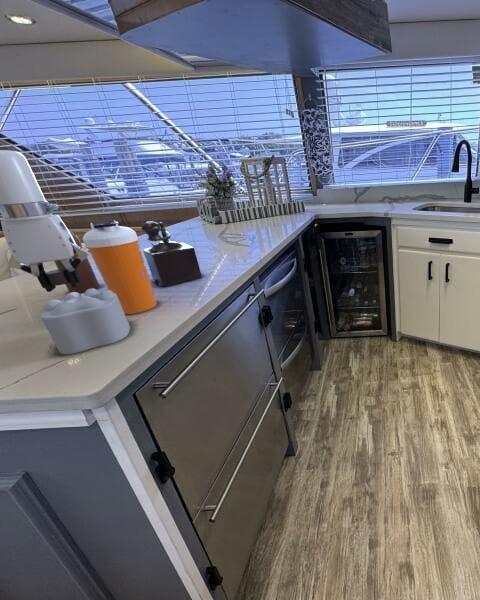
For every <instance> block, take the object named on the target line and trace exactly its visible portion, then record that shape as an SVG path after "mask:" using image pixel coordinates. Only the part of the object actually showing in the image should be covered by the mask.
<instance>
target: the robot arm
mask: <svg viewBox="0 0 480 600" xmlns="http://www.w3.org/2000/svg"><path fill="white" fill-rule="evenodd" d="M58 210H59V207H58V205H57V204H56V203H49V202H48V200H46V198H45V196H44V194H43V192H42V190H41V187H40V185H39V183H38V180H37V179H36V176H35V174H34V172H33V169H32V168H31V166H30V164H29V162H28V160H27V158H26V156H24V154H23V153H21V152H19V151H17V150H10V149H9V150H8V149H6V150H5V149H0V215H1V216H2V218H3V219H2V220H0V225H1V229H2V232H3V236H4V239H5V241H6V244H7V247H8V248H9V251H10V253H11V255H10V257H9V261H8V263H7V266H8V267H9V268H12V269H15V270H21V271H23V272H26V273H28V274H30V275H32V276H33V277H36V278H37V280H38V282H39V284H40V285H41V287H42V289H45V291H46V293H50V292H52V291H54V290H55V289H56V288H57V286H51V285H50V283H49V281H48V279H47V277H46V275H45V273H46V272H47V271H45V267H44V263H49V262H54V261H56V260H60V261H61V262H62V264H63V265H64V266H65V268H66V269H67V271H68V272H66V275H67V277H68V279H69V281H70V283H71V285H72V287H74V288H75V287H78V286H79V285H80V284H81V283H80V282H82V280H81V278H80V276H79V274H78V271H77V268H78V266H79V265H80V263H81V262H82V261H83V260H84V259H85V258H89V256H90V252H87V251H86V250H85V249H84V248H83V249H84V250H83V249H81V248H80V247H78V246H77V244H76V242H75V241H74V239H73V237H72V235H71V234H70V232H71V231H70V232H69V230H70V229H68V227H67V226H66V224H65V223H64V221H63V220H62V219H61V216H60V215H58V214H53V213H54V212H53V211H58ZM59 216H60V217H59ZM76 254H78V257H77V258H76V259H74V260H73V259H72V258H71V257H73V256H74V255H76Z"/></svg>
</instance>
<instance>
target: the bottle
mask: <svg viewBox="0 0 480 600" xmlns="http://www.w3.org/2000/svg"><path fill="white" fill-rule="evenodd" d="M58 216H59V217H60V218H61V216H60V215H58ZM68 230H69V232H70V234H71V235H72V237H73V239H74V241H75V242H76V244H77V246H78V247H80V248H81V249H83V250H84V251H85V249H84V247H83V245H82V242H81V239H80V238H79V237H78V235H77V234H74V232H72V231H71V230H70V229H68ZM77 257H78V254H76V255H74V256H73V257H71V258H72V259H73V260H74V259H76V258H77ZM53 262H54V264H55V267H56V268H57V270H58V269H66V268H65V266H64V265H63V264H62V262H61V261H60V260H56V261H53ZM77 271H78V274H79V276H80V278H81V280H82V282H80V283H81V284H80V285H79V286H78V287H75V288H74V287H72V285H71V283H67V284H64V285H65V287H66V289H67V291H68V293H71V292H77V293H79V294H83V293H85V292H86V290H88V289H96V290H98V289H99V288H101V285H100V283H99V281H98V279H97V275H96V274H95V272H94V270H93V268H92V265H91V263H90V260H89V257H87V258H85V259H84V260H83V261H82V262H81V263H80V265H79V266H78V268H77Z"/></svg>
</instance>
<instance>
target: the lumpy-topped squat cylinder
mask: <svg viewBox="0 0 480 600" xmlns="http://www.w3.org/2000/svg"><path fill="white" fill-rule="evenodd" d="M43 309H44V310H43V311H42V313H41V315H40V318H41V320H42V322H43V323H44V325H45V327H46V329H47V331H48V334H49V335H50V337H51V339H52V341H53V342H54V345H55V346H56V348H57V350H58V352H59V353H60V354H61V355H72V354H78V353H80V352H84V351H88V350H90V349H94V348H98V347H102V346H107V345H111V344H114V343H117V342H119V341H121V340H123V339H124V338H126V337H127V336H128V335H129V333H130V330H131V326H130V324H129V321H128V319H127V316H126V314H124V311H123V309H122V307H121V304H120V302H119V299H118V297H117V295H116V294H115V293H113V292H112V291H111V290H108V289H103V290H98V289H88V290H86V292H84V293H77V292H71V293H69V292H68V293H67V294H66V295H65V296H64V298H63V299H60V300H58V299H50V300H48V301H45V303H44V304H43Z"/></svg>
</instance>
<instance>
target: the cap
mask: <svg viewBox="0 0 480 600" xmlns="http://www.w3.org/2000/svg"><path fill="white" fill-rule="evenodd" d="M45 272H46V273H45V275H46V277H47V279H48V281H49V283H50V285H51V286H56V287H58V286H64V285H65V284H67V283H70V281H69V279H68V277H67V275H66V272H68V271H67V269H58V268H57V269H54V270H53V269H52V270H50V271H49V270H48V271H45Z"/></svg>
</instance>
